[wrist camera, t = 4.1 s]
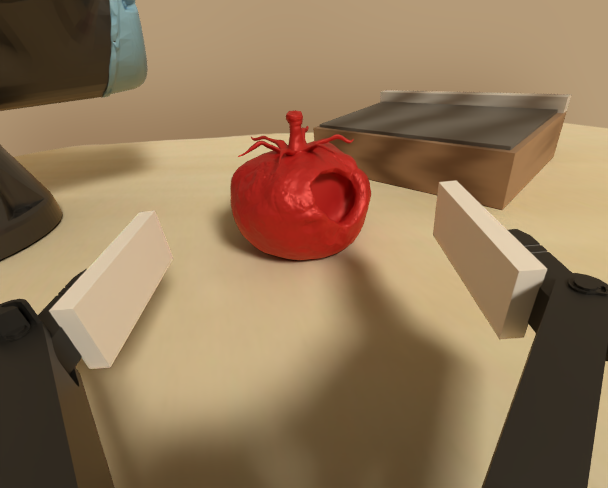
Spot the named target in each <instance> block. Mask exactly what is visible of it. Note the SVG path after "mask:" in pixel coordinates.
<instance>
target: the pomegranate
mask: <svg viewBox="0 0 608 488" xmlns="http://www.w3.org/2000/svg"><path fill="white" fill-rule="evenodd" d="M302 119H303V116H302V113H301V111H289V112H288V113H287V115H286V120H287V121H288V123H289V125H290V138H289V145H287V144H286V143H285V142H284V141H283V140H275V139H271V138H268V137H266V136H261V137H258V138H252V137H251V138H252V140H254V141H258V140H261V139H266V140H268V141H271V142H273V143H275V144H276V145H277V146H278V147H279V148H278V147H275V146H273V145H270V144H268V143H266V142H264V141H258V142H256V143H255V144H254V145H253V146H251V147H250V148H249V149H248V150H247V151H246V152H245V153H244V154H242V155H239V156H238V157H240V156H243V155H245V154H247V153H249V152H250V151H252V150H254V149H256V148H257V147H259V146H260V145H264V146H265V147H267V148H269V149H271V150H273V151H270V152H268V153H264V154H262V155H260V156H258V157H256V158H253V159H251V160H250V161H247V162H246V163H245V164H243V165H242V166H240V167H239V168H238V169H237V170H236V172H235V173H234V174H233V177H232V179H231V207H232V212H233V216H234V220H235V222H236V224H237V226H238V228H239V230H240V232H241V234H242V235H243V236H244V237H245V238H246V239H247V240H248V241H249V242H250V243H251V244H252V245H253V246H254V247H256V248H257V249H259V250H261V251H262V252H264V253H267V254H271V255H275V256H278V257H283V258H287V259H293V260H308V259H318V258H325V257H328V256H331V255H333V254H336V253H338V252H340V251H342V250H344V249H345V248H346V247H348V246H349V245H350V244H352V243H353V242H354V240H355V239H356V237H357V236H358V234H359V232H360V231H361V228H362V227H363V224H364V221H365V217H366V213H367V210H368V205H369V202H370V197H371V190H370V183H369V180H368V177H367V175H366V174H365V173H364V172H363V171H362V170H361V169H359V168H358V166H357V164H356V161H355V160H354V158H353V157H351V156H350V155H347V154H344V153H343V152H342V151H340V150H339V149H338V148H337V147H336V146H334V145H333V144H331V143H329V142H330V141H333V140H336V139H340V140H342V141H344V142H346V143H351V142H353V140H354V139H352V140H348V139H346V138H345V137H343V136H342V135H339V134H336V135H334V136H332V137H330V138H326V139H321V140H318V141H313V142H310V143H306V141H305V132H307V131H308V126H307V127H306V128H301V124H302Z"/></svg>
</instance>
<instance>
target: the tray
mask: <svg viewBox="0 0 608 488" xmlns="http://www.w3.org/2000/svg"><path fill="white" fill-rule="evenodd" d="M570 98H571V95H570V94H569V95H568V94H527V93H483V92H482V93H481V92H436V91H394V90H393V91H392V90H385V91H382V92H381V98H380V99H381V101H380V103H378V104H375V105H372V106H370V107H367V108H364V109H361V110H358V111H356V112H353V113H350V114H347V115H345V116H342V117H339V118H336V119H333V120H331V121H328V122H325V123H322V124H320V126H318V127H315V128H314V129H313V130H314V141H318V140H321V139H326V138H330V137H332V136H334V135H336V134H339V135H342V136H343V137H345V138H346V139H348V140H352V139H354V140H353V142H351V143H346V142H344V141H342V140H340V139H336V140H333V141H330V142H329V143H331V144H333V145H334V146H336V147H337V148H338V149H339V150H340V151H342V152H343V153H344V154H347V155H350V156H351V157H353V158H354V160H355V161H356V164H357V166H358V168H359V169H361V170H362V171H363V172H364V173H365V174H366V175H367V177H368V179H370V180H374V181H378V182H383V183H387V184H392V185H396V186H400V187H405V188H409V189H413V190H418V191H422V192H427V193H431V194H435V195H437V194H438V185H439V182H445V181H455V180H456V181H457V182H458V183H459V184H460V185H462V186H463V187H464V188H465V189H466V190H467V191H468V192H469V193H470V194H471V195H472V196H473V197H474V198H475V199H476V200H477V201H478V202H479V203H480V204H481V205H484V206H488V207H493V208H497V209H501V210H503V209H504V208H505V207H506V205H507V204H508V203H509V202H510V201H511V200H512V199H513V198H514V197H515V196H516V195H517V194H518V193H519V192H520V191H521V190H522V189H523V188H524V187H525V186H526V185H527V184H528V183H529V182H530V181H531V180H532V178H533V177H534V176H535V175H536V174H537V173H538V172H539V171H540V170H541V169H542V168H543V167H544V166H545V165H546V164H547V163H548V162H549V161H550V160H551V159H552V158H553V156H554V153H555V150H556V146H557V143H558V139H559V136H560V132H561V129H562V126H563V122H564V119H565V115H566V112H567V108H568V105H569V101H570Z"/></svg>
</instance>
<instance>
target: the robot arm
mask: <svg viewBox="0 0 608 488" xmlns="http://www.w3.org/2000/svg"><path fill="white" fill-rule="evenodd" d="M146 76H147V58H146V51H145V45H144V39H143V33H142V28H141V23H140V19H139V14H138V10H137V7H136V5H135V0H0V111H4V110H11V109H17V108H25V107H33V106H39V105H47V104H54V103H61V102H68V101H75V100H83V99H90V98H97V97H108V96H110V94H113V93H118V92H122V91H127V90H131V89H135V88H137V87H139V86H140V85H141V84H143V83H144V81H145V79H146ZM61 217H62V211H61V209H60V208H59V206H58V204H57V202H56V200H55V199H54V197H53V195H52V194H51V193H50V191H49V190H48V189H47V188H45V187H44V186H43V185H42V184H41V183H40V182H39V181H38V180H37V179H36V178H35V177H34V176H33V175H32V174H31V173H29V172H28V171H27V170H26V169H25V168H24V167H23V166H22V165H21V164H20V163H19V162H18V161H17V160H16V159H15V158H13V157H12V156H11V155H10V154H9V153H8V152H7V151H6V150H5V149H4V148H3V147H2V146H1V145H0V260H1V259H3V258H5V257H8V256H10V255H12V254H14V253H16V252H18V251H20V250H21V249H23V248H25V247H27V246H29V245H30V244H32V243H34V242H35V241H37V240H38V239H40V238H41V237H43V236H44V235H46V234H47V233H48V232H49V231H51V230H52V229H53V228H54V227H55V226H56V225H57V224H58V223H59V221H60V220H61ZM433 236H434V237H435V239H436V240H437V242H438V244H439V245H440V247H441V248H442V250H443V251H444V253H445V255H446V256H447V258H448V259H449V261H450V262H451V264H452V265H453V267H454V269H455V270H456V272H457V273H458V275H459V276H460V278H461V280H462V281H463V283H464V284H465V286H466V287H467V289H468V291H469V292H470V294H471V295H472V297H473V298H474V300H475V302H476V303H477V305H478V306H479V308H480V309H481V311H482V313H483V314H484V316H485V317H486V319H487V320H488V322H489V324H490V325H491V327H492V328H493V330H494V331H495V333H496V335H497V336H498V338H499V339H509V338H523V337H524V335H525V333H526V330H527V327H528V324H529V325H530V326H531V327H532V329H533V330H534V331H535V333H536V336H535V338H534V341H533V344H532V346H531V349H530V352H529V354H528V358H527V361H526V364H525V366H524V369H523V372H522V375H521V378H520V381H519V383H518V386H517V389H516V392H515V395H514V398H513V400H512V403H511V406H510V409H509V412H508V414H507V417H506V420H505V423H504V426H503V429H502V431H501V434H500V437H499V440H498V443H497V446H496V448H495V451H494V454H493V457H492V460H491V463H490V465H489V468H488V471H487V474H486V477H485V479H484V482H483V485H482V488H587V486H588V479H589V472H590V465H591V458H592V451H593V444H594V437H595V430H596V423H597V416H598V409H599V402H600V395H601V388H602V381H603V374H604V367H605V361H608V284H606V283H604V282H603V281H601V280H599V279H597V278H594V277H591V276H589V275H584V274H579V273H572V272H571V271H569V270H568V269H567V268H566V267H565V266H564V265H563V264H562V263H561V262H559V261H558V260H557V259H556V258H555V257H554V256H553V255H552V254H551V253H549V252H547V250H546V249H545V248H544V247H543V246H542V245H540V244H539V243H538V242H537V241H536V240H535V239H534V238H533V237H532V236H530V235H528V234H526V233H524V232H522V231H520V230H518V229H512V230H507V229H506V228H505V227H504V226H503V225H502V224H501V223H500V222H499V221H498V220H497V219H495V218H494V217H493V216H492V215H491V214H490V213H489V212H488V211H487V210H486V209H485V208H484V207H483V206H482V205H481V204H480V203H479V202H478V201H477V200H476V199H475V198H474V197H473V196H472V195H471V194H470V193H469V192H468V191H467V190H466V189H465V188H464V187H463V186H462V185H460V184H459V183H458V182H457V181H456V180H455V181H445V182H439V185H438V194H437V203H436V212H435V221H434V230H433ZM173 259H174V258H173V256H172V253H171V251H170V248H169V245H168V243H167V240H166V238H165V235H164V232H163V230H162V227H161V225H160V222H159V219H158V217H157V214H156V212H155V211H146V212H139V213H138V214H137V215H136V216H135V217H134V219H133V220H132V221H131V222H130V223H129V224H128V225H127V226H126V227H125V228H124V229H123V231H122V232H121V233H120V234H119V235H118V236H117V237H116V238H115V239H114V240H113V241H112V243H111V244H110V245H109V246H108V247H107V248H106V249H105V250H104V251H103V252H102V253H101V255H100V256H99V257H98V258H97V259H96V260H95V261H94V262H93V263H92V264H91V265H90V267H89V268H88V269H85V270H84V271H82V272H81V273H80V274H78V275H77V276H75V277H74V278H73V279H72V280H71V281H70V282H69V283H68V284H67V285H66V286H65V288H63V289H62V290H61V291H60V292H59V294H58V296H56V297H55V298H54V299H53V300H52V301H51V302H50V303H49V304H48V305H47V306H46V307H45V308H44V309H43V311H42V312H41V313H40V314H39V315H37V314H36V313H35V311H34V310H33V309H32V307H31V306H30V304H29V303H28V302H27V301H26V300H24V299H16V300H11V301H8V302H5V303H2V304H0V488H114V484H113V481H112V478H111V474H110V471H109V468H108V465H107V461H106V458H105V455H104V451H103V448H102V445H101V442H100V438H99V435H98V432H97V428H96V425H95V422H94V419H93V415H92V412H91V409H90V405H89V402H88V399H87V396H86V392H85V389H84V386H83V382H82V379H81V376H80V373H79V372H78V371H77V369H76V368H75V366H76V365H77V363H78V362H79V361H80V359H81V358H82V359H83V361H84V362H85V364H86V365H87V366H88V368H89V369H97V368H111V366H112V364H113V362H114V361H115V359H116V357H117V355H118V354H119V352H120V350H121V348H122V347H123V345H124V343H125V342H126V340H127V338H128V336H129V335H130V333H131V331H132V329H133V328H134V326H135V324H136V323H137V321H138V319H139V317H140V316H141V314H142V312H143V310H144V309H145V307H146V305H147V303H148V302H149V300H150V298H151V297H152V295H153V293H154V291H155V290H156V288H157V286H158V284H159V283H160V281H161V279H162V278H163V276H164V274H165V272H166V271H167V269H168V267H169V265H170V264H171V262H172V260H173Z"/></svg>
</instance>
